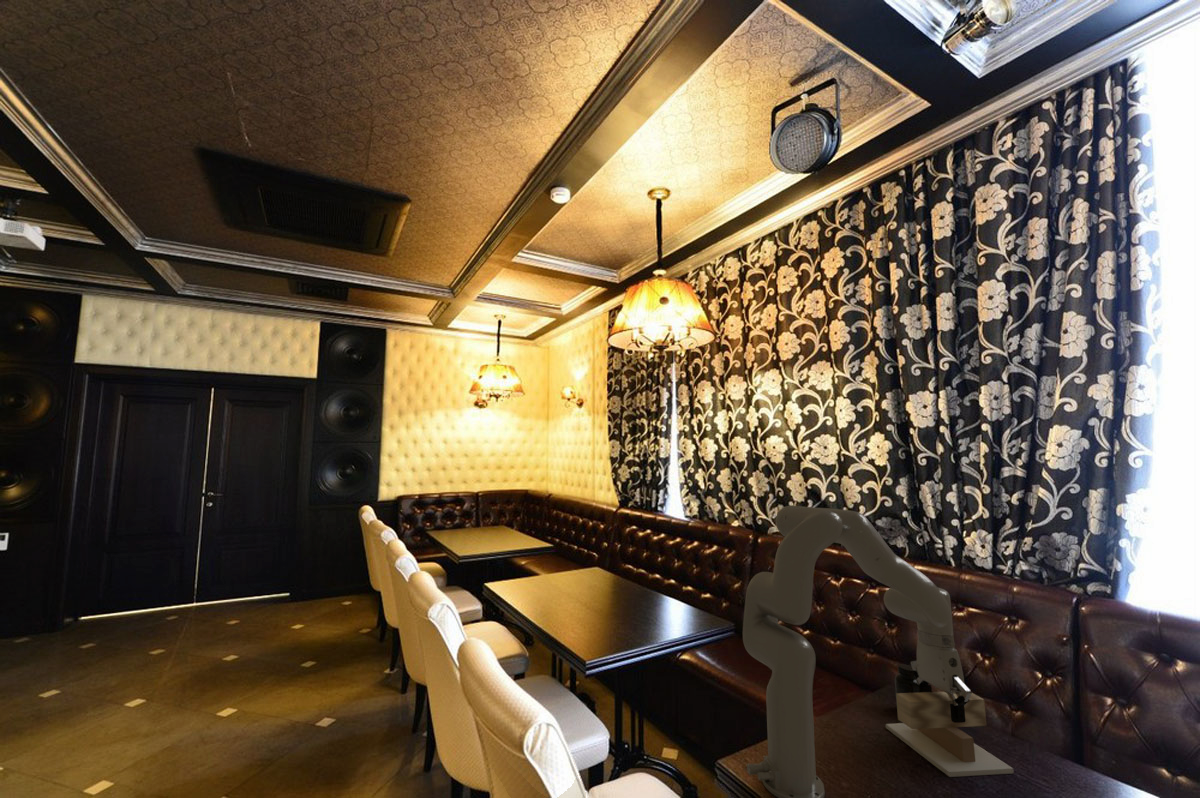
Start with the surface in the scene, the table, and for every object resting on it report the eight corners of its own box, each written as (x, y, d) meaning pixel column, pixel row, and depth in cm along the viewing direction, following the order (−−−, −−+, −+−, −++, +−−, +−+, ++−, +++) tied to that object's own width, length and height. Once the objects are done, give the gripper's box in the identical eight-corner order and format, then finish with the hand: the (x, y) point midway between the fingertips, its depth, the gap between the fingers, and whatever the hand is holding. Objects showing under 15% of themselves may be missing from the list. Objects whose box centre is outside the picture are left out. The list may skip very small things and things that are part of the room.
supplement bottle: (929, 721, 128) (925, 674, 130) (900, 716, 130) (897, 670, 132) (921, 709, 135) (917, 664, 137) (893, 704, 137) (890, 661, 139)
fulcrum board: (949, 776, 105) (946, 747, 106) (885, 728, 124) (884, 703, 125) (1013, 773, 106) (1010, 744, 107) (941, 725, 126) (939, 701, 127)
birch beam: (970, 716, 120) (968, 690, 120) (986, 725, 115) (984, 699, 116) (898, 719, 117) (896, 693, 118) (911, 729, 113) (909, 702, 114)
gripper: (979, 651, 111) (987, 730, 109) (922, 626, 128) (927, 694, 126) (951, 652, 110) (957, 731, 108) (897, 627, 127) (901, 695, 125)
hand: (941, 711), depth 117 cm, fingers open, 9 cm apart
